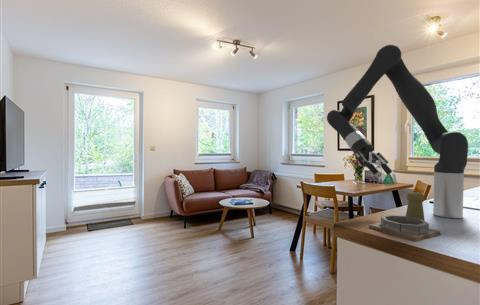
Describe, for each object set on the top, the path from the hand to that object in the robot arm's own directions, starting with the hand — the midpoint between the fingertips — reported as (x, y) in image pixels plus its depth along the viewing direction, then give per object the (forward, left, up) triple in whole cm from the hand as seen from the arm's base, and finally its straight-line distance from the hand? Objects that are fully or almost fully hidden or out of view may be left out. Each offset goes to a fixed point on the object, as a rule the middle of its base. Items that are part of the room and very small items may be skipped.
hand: (383, 173), depth 100 cm
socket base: (+12, +15, -17) cm, 25 cm away
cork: (0, +12, -17) cm, 21 cm away
